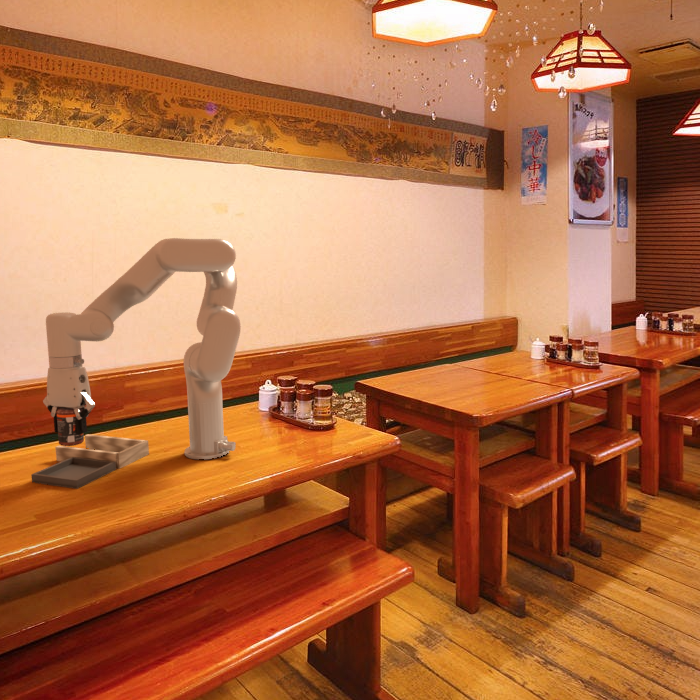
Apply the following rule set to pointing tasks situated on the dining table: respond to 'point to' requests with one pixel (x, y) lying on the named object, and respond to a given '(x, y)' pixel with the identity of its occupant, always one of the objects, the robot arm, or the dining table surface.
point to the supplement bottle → (68, 427)
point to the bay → (106, 450)
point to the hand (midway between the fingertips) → (70, 431)
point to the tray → (74, 472)
